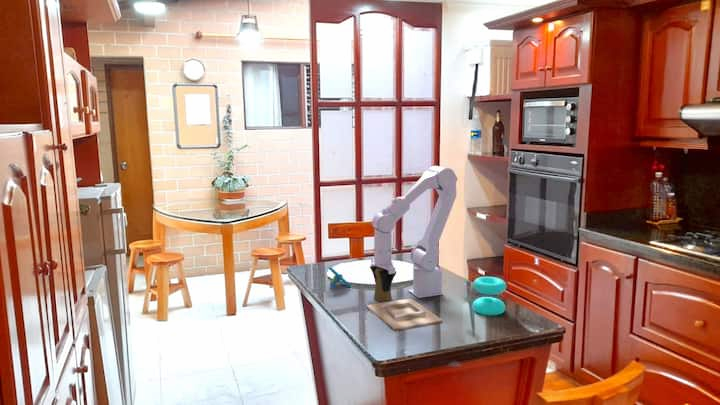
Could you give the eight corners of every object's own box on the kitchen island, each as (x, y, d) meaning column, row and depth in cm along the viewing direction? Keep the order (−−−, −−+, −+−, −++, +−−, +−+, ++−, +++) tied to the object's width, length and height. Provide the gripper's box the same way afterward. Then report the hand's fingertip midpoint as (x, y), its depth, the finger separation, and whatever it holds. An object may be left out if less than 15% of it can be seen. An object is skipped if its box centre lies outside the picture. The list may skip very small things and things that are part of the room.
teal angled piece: (354, 286, 182) (333, 267, 180) (342, 299, 181) (321, 280, 180) (349, 281, 193) (329, 263, 191) (338, 293, 192) (318, 275, 190)
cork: (386, 302, 171) (386, 270, 169) (370, 299, 174) (370, 267, 172) (394, 297, 176) (395, 266, 174) (379, 294, 179) (379, 263, 177)
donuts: (489, 287, 155) (466, 278, 163) (488, 319, 157) (465, 309, 165) (513, 282, 160) (489, 273, 169) (512, 312, 162) (488, 303, 170)
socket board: (410, 299, 173) (411, 294, 173) (442, 321, 155) (442, 316, 155) (366, 306, 167) (366, 301, 167) (394, 330, 149) (394, 324, 149)
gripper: (363, 245, 177) (363, 283, 179) (381, 256, 164) (380, 297, 166) (382, 243, 180) (381, 281, 182) (401, 253, 166) (400, 294, 169)
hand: (382, 288), depth 174 cm, fingers closed on cork, 5 cm apart
